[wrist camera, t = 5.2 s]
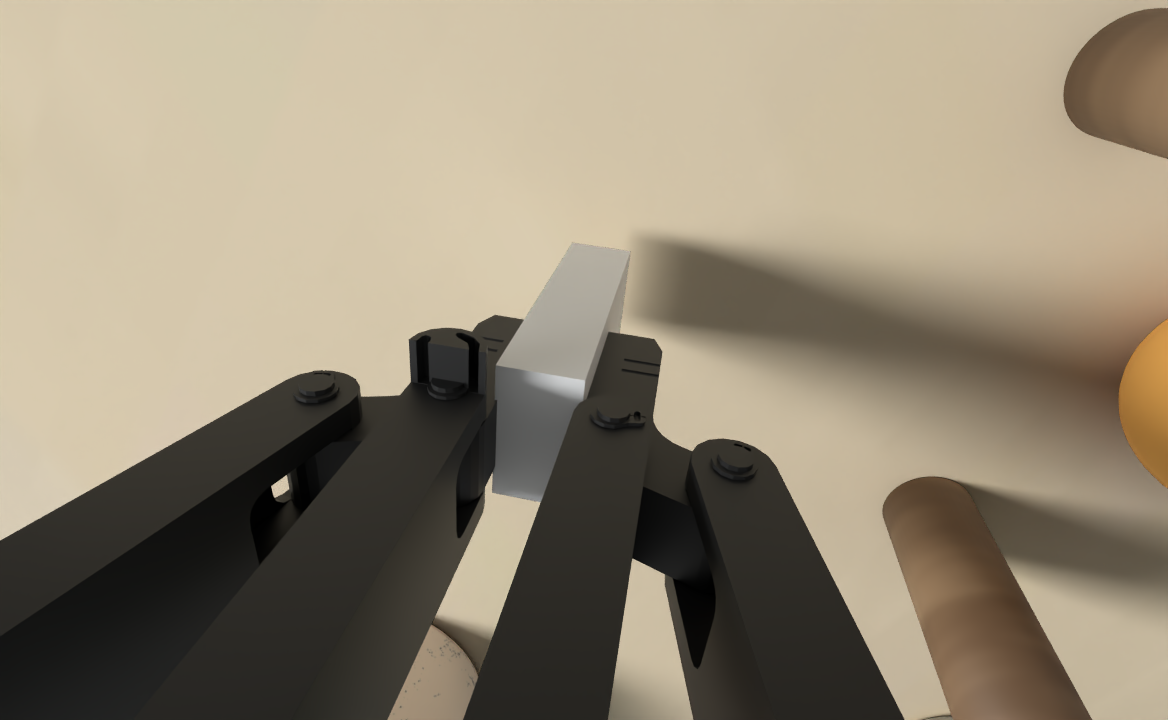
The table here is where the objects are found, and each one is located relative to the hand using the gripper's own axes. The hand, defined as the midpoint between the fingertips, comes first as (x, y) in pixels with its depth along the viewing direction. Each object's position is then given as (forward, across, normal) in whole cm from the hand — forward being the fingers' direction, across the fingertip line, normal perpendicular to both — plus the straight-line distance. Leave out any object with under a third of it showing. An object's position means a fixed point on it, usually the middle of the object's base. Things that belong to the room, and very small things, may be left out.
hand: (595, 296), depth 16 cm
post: (+2, -11, +6) cm, 13 cm away
